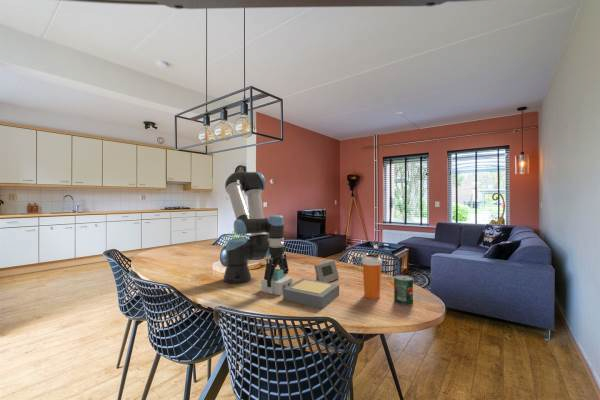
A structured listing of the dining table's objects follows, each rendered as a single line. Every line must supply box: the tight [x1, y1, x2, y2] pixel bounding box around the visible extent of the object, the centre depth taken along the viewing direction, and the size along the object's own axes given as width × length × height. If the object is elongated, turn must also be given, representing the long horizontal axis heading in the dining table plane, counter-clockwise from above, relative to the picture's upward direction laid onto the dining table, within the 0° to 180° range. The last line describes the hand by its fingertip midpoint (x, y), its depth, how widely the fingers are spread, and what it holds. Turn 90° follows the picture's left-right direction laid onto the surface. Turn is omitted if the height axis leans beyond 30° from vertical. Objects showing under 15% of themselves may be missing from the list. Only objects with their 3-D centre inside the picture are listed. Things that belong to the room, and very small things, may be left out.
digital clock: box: [314, 259, 340, 283], centre depth 150 cm, size 16×9×11 cm, turn 123°
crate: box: [272, 268, 284, 281], centre depth 137 cm, size 5×5×4 cm
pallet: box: [260, 275, 293, 296], centre depth 137 cm, size 12×10×6 cm
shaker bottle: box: [361, 252, 383, 300], centre depth 127 cm, size 9×9×20 cm
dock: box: [282, 277, 340, 310], centre depth 126 cm, size 20×18×5 cm
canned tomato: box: [393, 274, 414, 307], centre depth 120 cm, size 8×8×11 cm
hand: (277, 289), depth 137 cm, fingers open, 11 cm apart
